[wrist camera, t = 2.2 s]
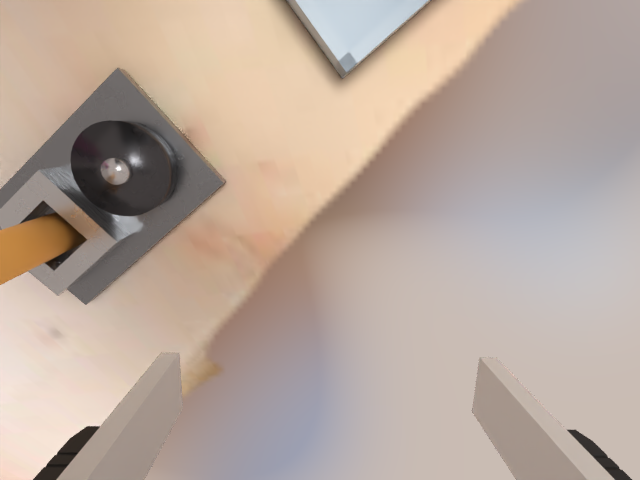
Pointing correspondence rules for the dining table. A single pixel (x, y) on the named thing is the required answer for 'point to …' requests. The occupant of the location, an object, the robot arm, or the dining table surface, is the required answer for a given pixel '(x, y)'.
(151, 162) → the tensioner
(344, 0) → the tray
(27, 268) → the lock pin
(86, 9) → the dining table surface
